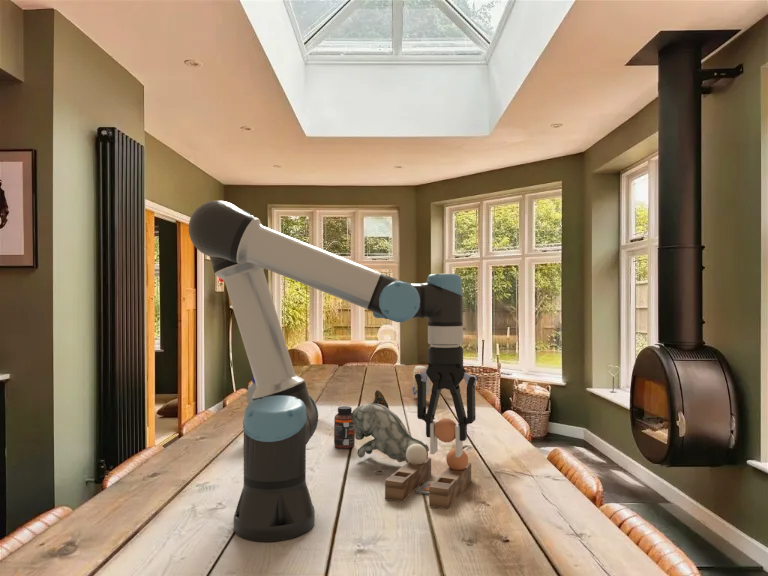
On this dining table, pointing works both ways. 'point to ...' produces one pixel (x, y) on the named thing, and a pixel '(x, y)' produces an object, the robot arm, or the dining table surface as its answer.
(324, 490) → the dining table surface
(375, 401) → the butterfly
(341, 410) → the supplement bottle
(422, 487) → the card
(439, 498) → the rack
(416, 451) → the cream ball
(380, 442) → the figurine
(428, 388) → the white patterned rounded slab
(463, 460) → the rust ball
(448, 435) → the rust ball
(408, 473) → the rack
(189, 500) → the dining table surface
